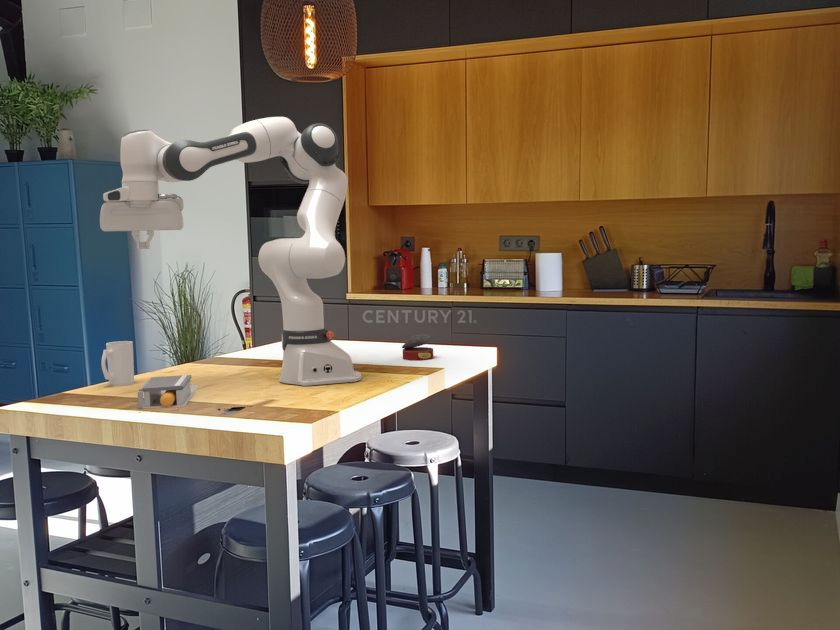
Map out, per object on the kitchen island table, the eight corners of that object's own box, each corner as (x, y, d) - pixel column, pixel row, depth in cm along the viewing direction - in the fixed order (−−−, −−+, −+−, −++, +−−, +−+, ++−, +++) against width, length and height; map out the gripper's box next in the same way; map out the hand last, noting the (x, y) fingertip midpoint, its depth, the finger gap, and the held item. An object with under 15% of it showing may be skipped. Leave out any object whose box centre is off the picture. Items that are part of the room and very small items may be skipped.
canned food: (407, 375, 251) (392, 348, 250) (412, 366, 261) (397, 340, 260) (438, 359, 249) (422, 331, 248) (442, 350, 258) (427, 324, 257)
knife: (225, 419, 174) (204, 418, 175) (226, 424, 174) (205, 423, 175) (267, 395, 195) (248, 394, 196) (267, 399, 195) (248, 398, 196)
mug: (121, 383, 220) (119, 340, 219) (140, 385, 217) (138, 341, 216) (93, 390, 211) (90, 345, 210) (113, 392, 208) (110, 346, 207)
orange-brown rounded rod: (178, 398, 196) (182, 387, 196) (170, 408, 184) (175, 396, 184) (166, 393, 195) (170, 382, 195) (158, 404, 183) (163, 392, 183)
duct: (198, 388, 211) (198, 370, 210) (185, 410, 184) (184, 389, 184) (157, 390, 209) (156, 372, 208) (138, 412, 183) (136, 391, 182)
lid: (191, 377, 200) (191, 374, 200) (183, 389, 185) (183, 385, 185) (150, 380, 198) (150, 377, 198) (139, 392, 184) (138, 388, 184)
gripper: (184, 194, 208) (187, 247, 210) (102, 195, 205) (105, 249, 206) (181, 193, 202) (183, 248, 203) (96, 194, 199) (99, 249, 200)
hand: (143, 248), depth 205 cm, fingers closed
